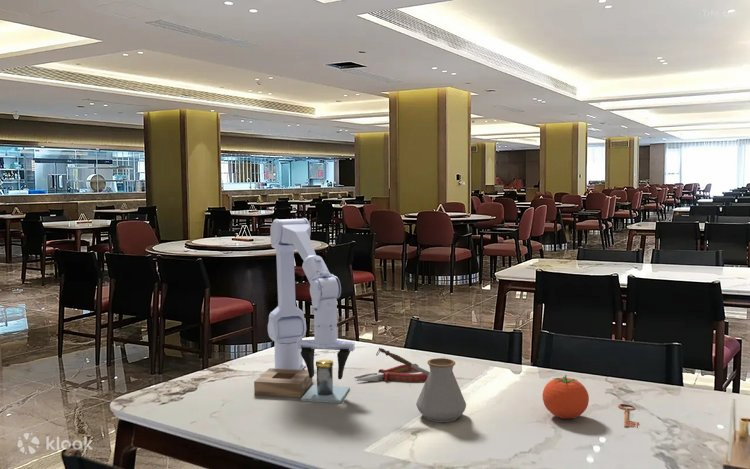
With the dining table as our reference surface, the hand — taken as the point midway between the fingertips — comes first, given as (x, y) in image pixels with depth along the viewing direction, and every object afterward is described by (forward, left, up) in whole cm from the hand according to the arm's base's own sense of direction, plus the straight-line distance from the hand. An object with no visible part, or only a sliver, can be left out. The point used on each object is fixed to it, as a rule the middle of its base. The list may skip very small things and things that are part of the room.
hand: (325, 377), depth 167 cm
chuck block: (-3, -12, -4) cm, 13 cm away
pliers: (-19, +15, -5) cm, 24 cm away
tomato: (+7, +58, -5) cm, 59 cm away
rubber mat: (0, 0, -4) cm, 4 cm away
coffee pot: (+10, +25, -5) cm, 27 cm away
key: (+4, +73, -5) cm, 73 cm away
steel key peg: (0, 0, -4) cm, 4 cm away
